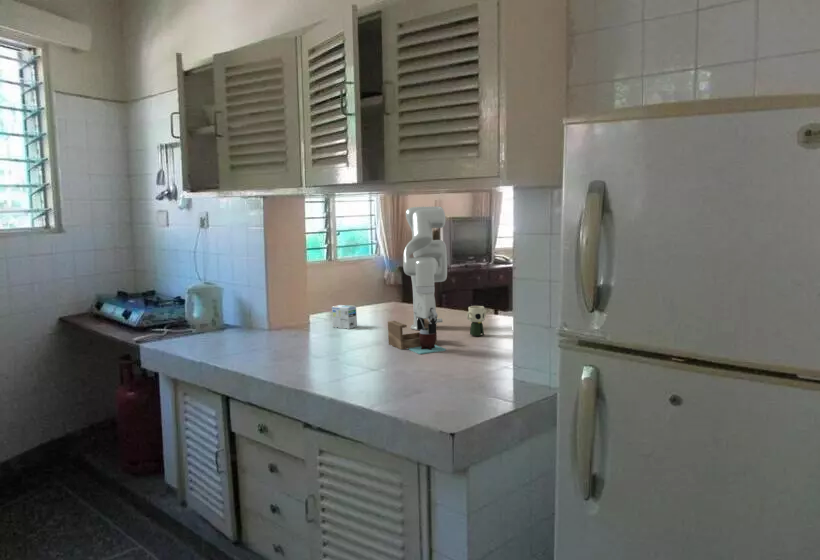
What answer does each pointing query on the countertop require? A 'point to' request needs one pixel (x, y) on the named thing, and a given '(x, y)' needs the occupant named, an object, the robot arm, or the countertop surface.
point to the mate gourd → (426, 338)
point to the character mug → (476, 319)
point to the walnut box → (404, 336)
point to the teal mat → (426, 350)
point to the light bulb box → (344, 316)
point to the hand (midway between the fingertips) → (426, 331)
